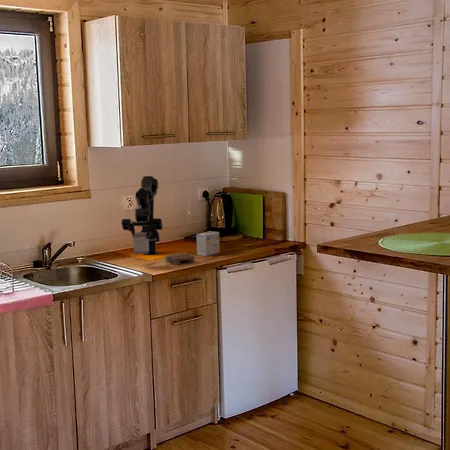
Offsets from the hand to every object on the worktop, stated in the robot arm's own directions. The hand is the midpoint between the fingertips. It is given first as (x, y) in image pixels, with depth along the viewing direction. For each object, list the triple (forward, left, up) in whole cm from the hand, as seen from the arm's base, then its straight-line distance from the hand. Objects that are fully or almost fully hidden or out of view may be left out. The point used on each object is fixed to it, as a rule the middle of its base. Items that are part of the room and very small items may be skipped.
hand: (140, 239), depth 321 cm
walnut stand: (-11, +17, -13) cm, 24 cm away
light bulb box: (-30, +29, -14) cm, 44 cm away
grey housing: (-1, 0, -7) cm, 7 cm away
